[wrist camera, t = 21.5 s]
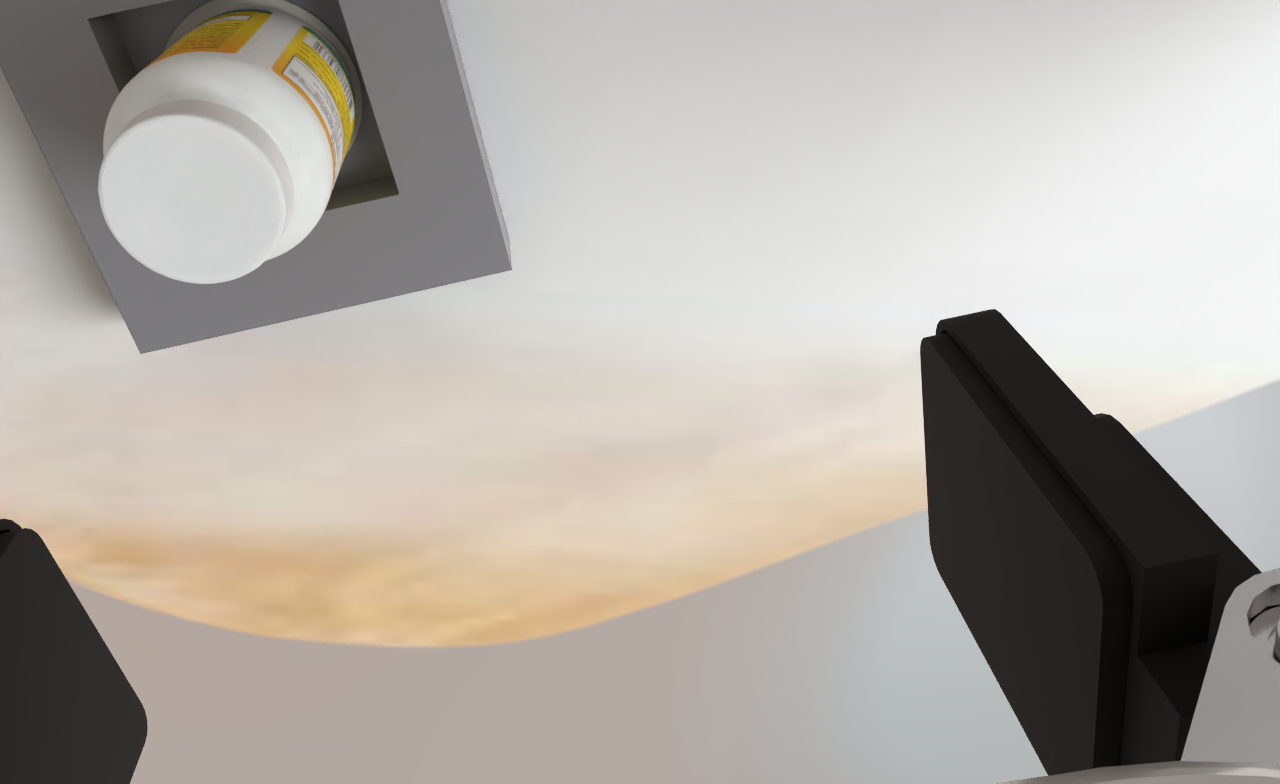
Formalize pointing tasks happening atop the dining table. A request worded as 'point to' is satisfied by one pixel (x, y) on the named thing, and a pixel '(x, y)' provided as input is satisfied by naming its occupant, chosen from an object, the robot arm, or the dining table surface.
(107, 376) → the dining table surface
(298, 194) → the supplement bottle
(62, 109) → the block
